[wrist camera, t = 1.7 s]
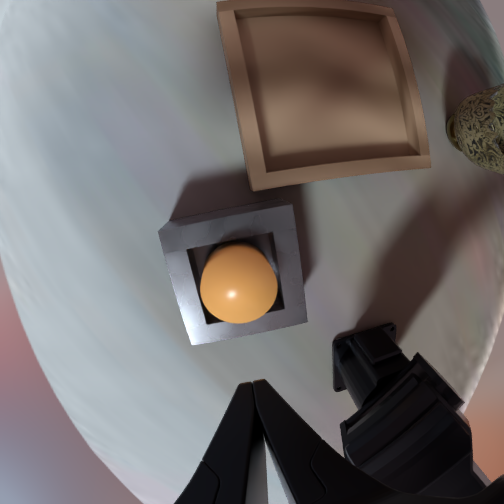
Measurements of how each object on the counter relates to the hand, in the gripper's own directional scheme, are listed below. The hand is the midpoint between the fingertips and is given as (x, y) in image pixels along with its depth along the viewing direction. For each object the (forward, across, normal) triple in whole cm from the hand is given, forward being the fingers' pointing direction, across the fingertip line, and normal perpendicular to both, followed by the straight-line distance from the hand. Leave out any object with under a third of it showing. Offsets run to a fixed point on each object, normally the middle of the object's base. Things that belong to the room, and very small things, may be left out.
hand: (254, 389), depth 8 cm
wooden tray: (+13, -9, -12) cm, 20 cm away
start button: (+11, 0, 0) cm, 11 cm away
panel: (+13, 0, 0) cm, 13 cm away
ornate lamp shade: (+13, -22, -8) cm, 27 cm away
